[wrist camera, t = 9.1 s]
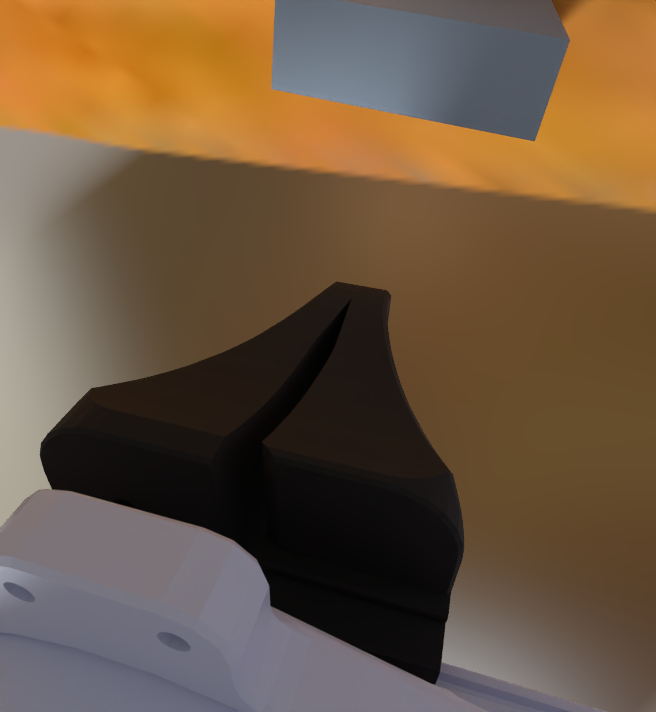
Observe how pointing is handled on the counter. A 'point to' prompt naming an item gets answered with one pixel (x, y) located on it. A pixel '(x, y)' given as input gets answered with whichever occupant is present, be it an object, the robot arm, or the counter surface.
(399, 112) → the domino
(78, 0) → the counter surface
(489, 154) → the counter surface
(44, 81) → the counter surface
